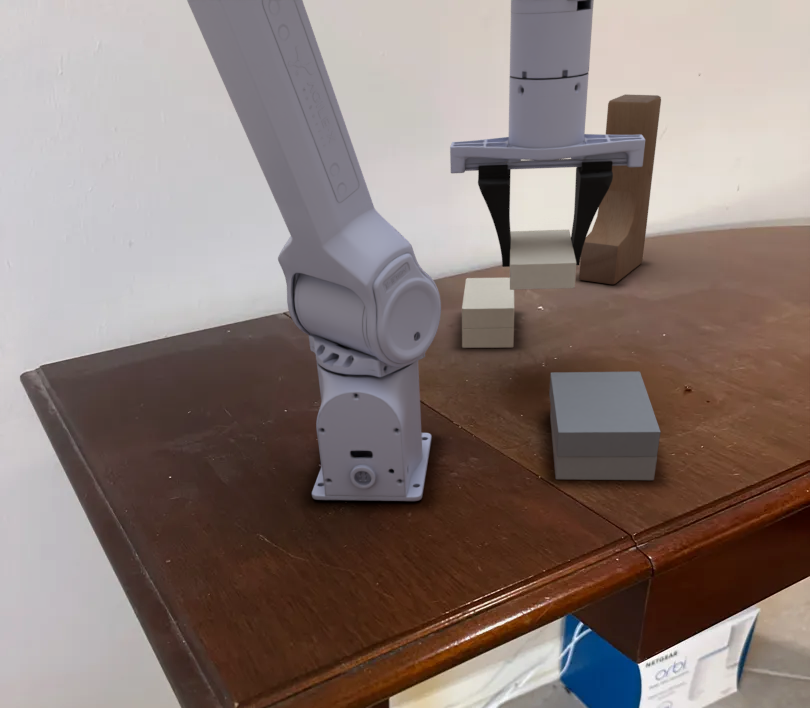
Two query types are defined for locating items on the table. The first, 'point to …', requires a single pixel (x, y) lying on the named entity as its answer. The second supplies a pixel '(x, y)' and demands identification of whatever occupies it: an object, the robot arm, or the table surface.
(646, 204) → the wooden block
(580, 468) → the grey book
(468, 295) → the white book
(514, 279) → the beige rectangular block
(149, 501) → the table surface
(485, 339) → the white book
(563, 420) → the grey book
